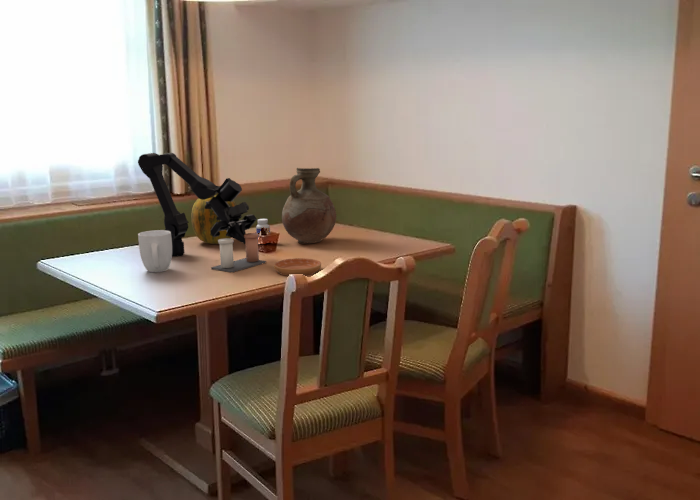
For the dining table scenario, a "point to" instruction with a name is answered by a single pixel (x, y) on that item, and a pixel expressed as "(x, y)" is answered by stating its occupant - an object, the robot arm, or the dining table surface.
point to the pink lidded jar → (251, 247)
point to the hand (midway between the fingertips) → (246, 243)
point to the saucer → (297, 266)
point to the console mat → (239, 265)
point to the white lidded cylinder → (226, 252)
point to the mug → (155, 249)
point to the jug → (308, 209)
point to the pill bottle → (262, 225)
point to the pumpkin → (206, 221)
